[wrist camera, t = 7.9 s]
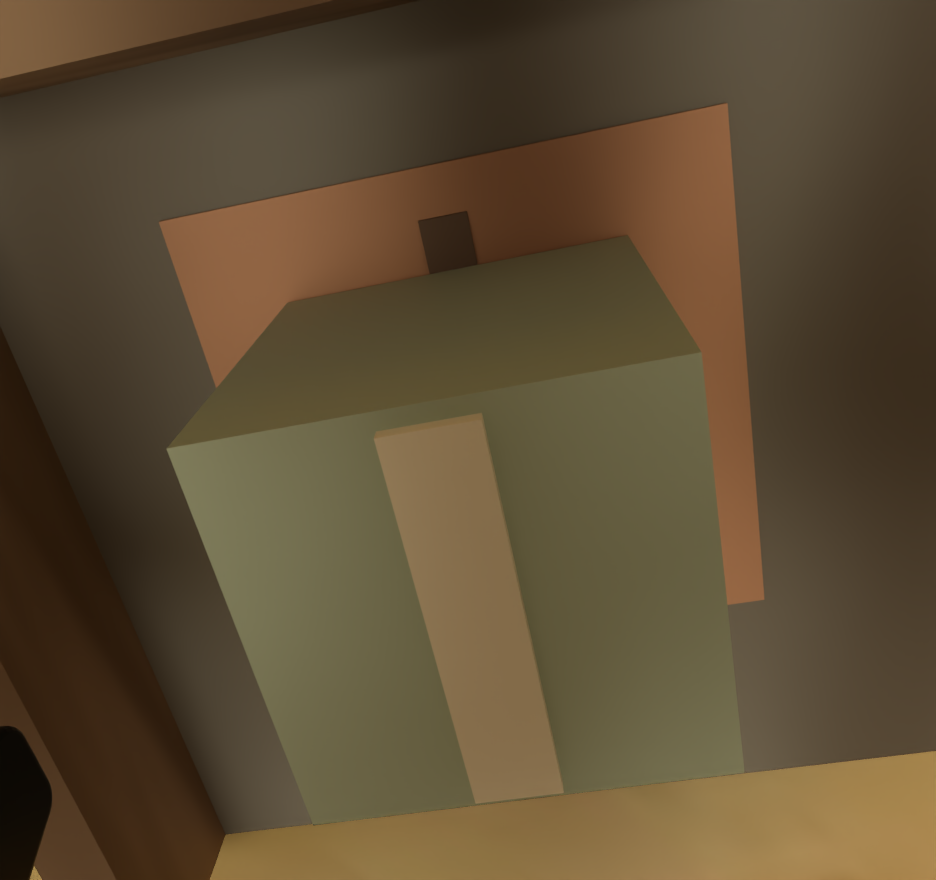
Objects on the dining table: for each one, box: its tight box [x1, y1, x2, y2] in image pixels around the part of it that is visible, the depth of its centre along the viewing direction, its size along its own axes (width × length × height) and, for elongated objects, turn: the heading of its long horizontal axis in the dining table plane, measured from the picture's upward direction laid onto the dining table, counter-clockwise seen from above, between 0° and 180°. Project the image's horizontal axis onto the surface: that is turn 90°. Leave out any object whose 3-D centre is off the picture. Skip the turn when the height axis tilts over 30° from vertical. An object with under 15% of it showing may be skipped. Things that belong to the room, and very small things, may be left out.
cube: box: [167, 235, 745, 825], centre depth 11 cm, size 5×5×5 cm
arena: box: [0, 0, 936, 880], centre depth 13 cm, size 15×15×4 cm
